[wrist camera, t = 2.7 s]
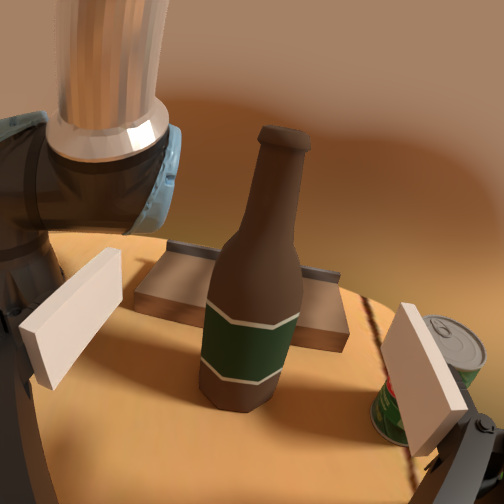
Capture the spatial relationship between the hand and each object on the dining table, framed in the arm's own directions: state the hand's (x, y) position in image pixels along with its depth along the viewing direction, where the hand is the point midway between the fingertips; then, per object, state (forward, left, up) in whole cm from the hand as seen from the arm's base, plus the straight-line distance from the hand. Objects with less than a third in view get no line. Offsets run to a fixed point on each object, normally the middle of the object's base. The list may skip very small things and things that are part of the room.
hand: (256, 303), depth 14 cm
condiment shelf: (-1, +24, -17) cm, 29 cm away
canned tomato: (+18, +8, -17) cm, 26 cm away
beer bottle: (0, +10, -17) cm, 20 cm away
